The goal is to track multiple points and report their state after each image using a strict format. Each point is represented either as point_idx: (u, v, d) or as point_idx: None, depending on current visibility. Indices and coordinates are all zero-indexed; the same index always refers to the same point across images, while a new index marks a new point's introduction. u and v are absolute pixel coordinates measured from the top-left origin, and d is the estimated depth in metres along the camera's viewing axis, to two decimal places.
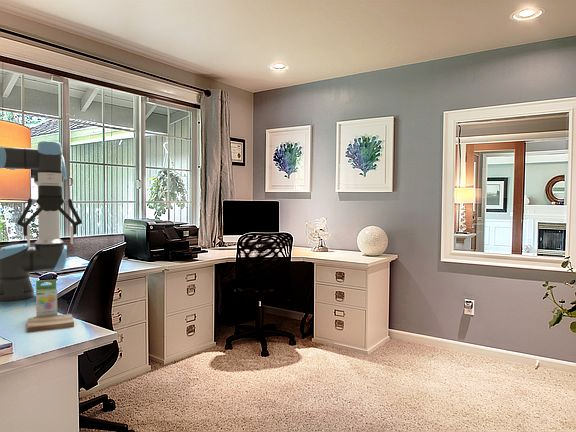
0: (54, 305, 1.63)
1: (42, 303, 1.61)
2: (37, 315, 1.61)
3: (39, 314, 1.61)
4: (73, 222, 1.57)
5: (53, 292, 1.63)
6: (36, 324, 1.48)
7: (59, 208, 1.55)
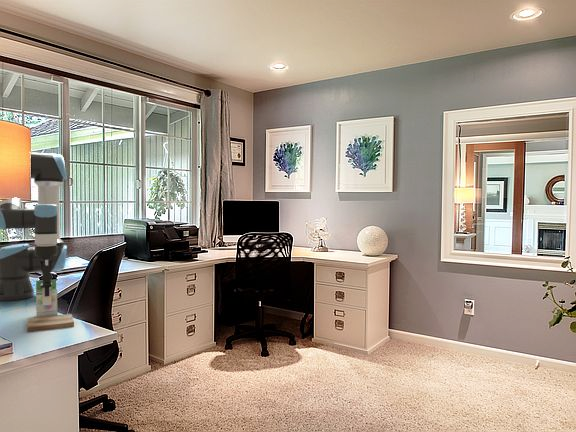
0: (54, 305, 1.63)
1: (42, 303, 1.61)
2: (37, 315, 1.61)
3: (39, 314, 1.61)
4: (43, 284, 1.56)
5: (53, 292, 1.63)
6: (36, 324, 1.48)
7: (41, 268, 1.59)
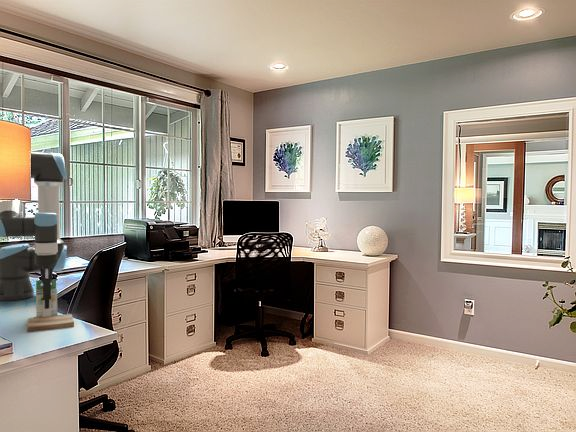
0: (54, 305, 1.63)
1: (42, 303, 1.61)
2: (37, 315, 1.61)
3: (39, 314, 1.61)
4: None
5: (53, 292, 1.63)
6: (36, 324, 1.48)
7: (41, 278, 1.61)
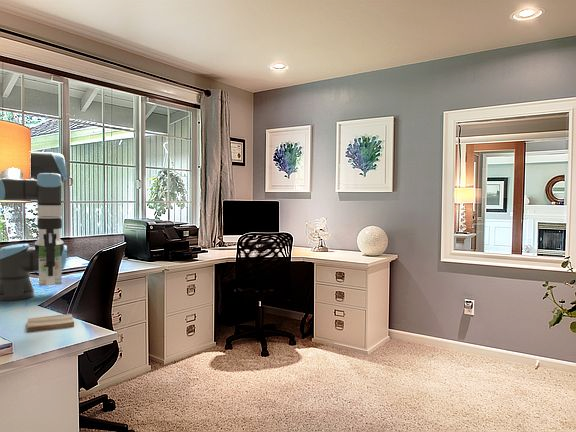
0: (58, 272, 1.52)
1: (45, 270, 1.50)
2: (40, 283, 1.49)
3: (42, 282, 1.49)
4: (46, 262, 1.49)
5: (57, 259, 1.51)
6: (36, 324, 1.48)
7: (44, 243, 1.49)
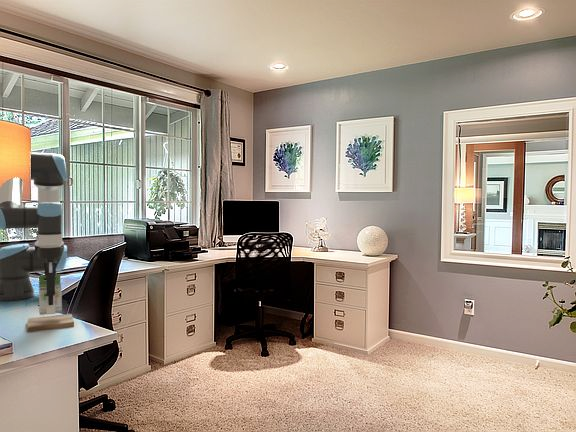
0: (58, 301, 1.52)
1: (45, 299, 1.50)
2: (40, 312, 1.50)
3: (42, 311, 1.50)
4: None
5: (57, 287, 1.52)
6: (36, 324, 1.48)
7: None
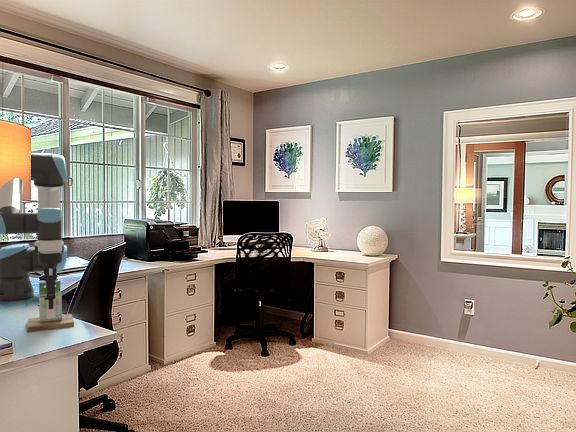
0: (58, 308, 1.52)
1: (45, 306, 1.50)
2: (40, 319, 1.50)
3: (42, 318, 1.50)
4: None
5: (57, 295, 1.52)
6: (36, 324, 1.48)
7: None
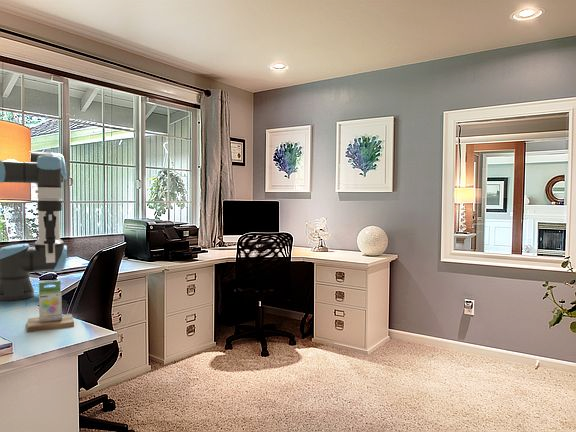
0: (58, 308, 1.52)
1: (45, 306, 1.50)
2: (40, 319, 1.50)
3: (42, 318, 1.50)
4: (46, 240, 1.47)
5: (57, 295, 1.52)
6: (36, 324, 1.48)
7: (44, 224, 1.50)
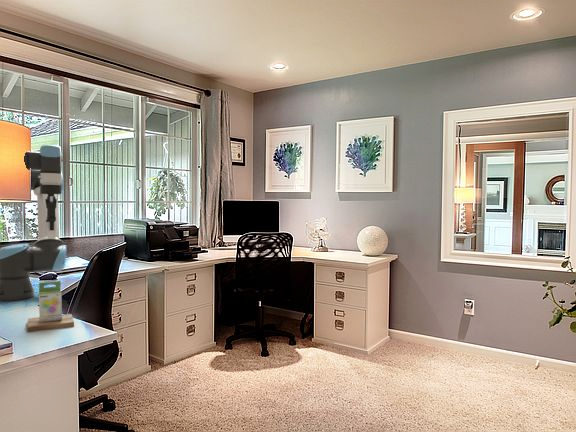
0: (58, 308, 1.52)
1: (45, 306, 1.50)
2: (40, 319, 1.50)
3: (42, 318, 1.50)
4: None
5: (57, 295, 1.52)
6: (36, 324, 1.48)
7: (46, 205, 1.70)
